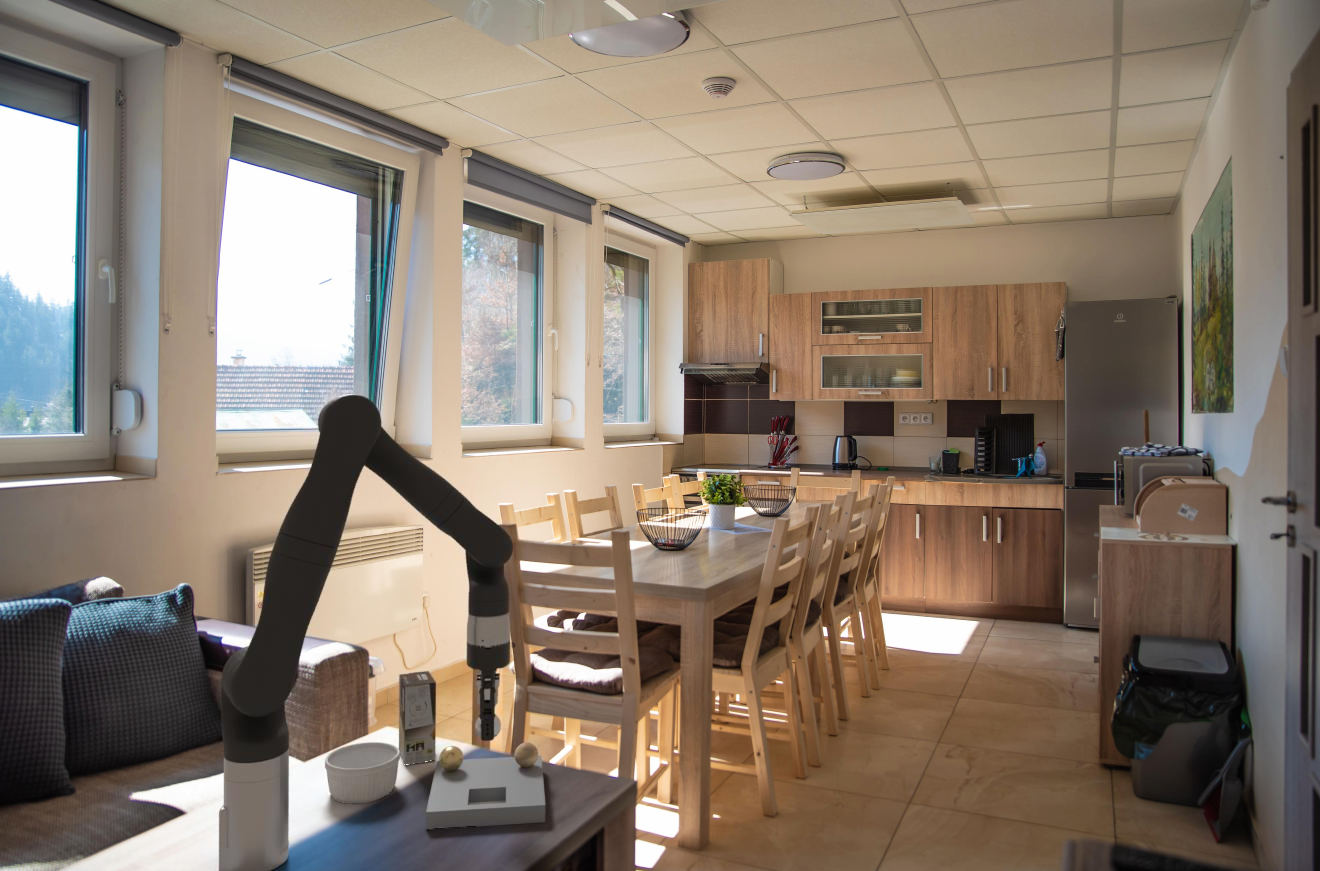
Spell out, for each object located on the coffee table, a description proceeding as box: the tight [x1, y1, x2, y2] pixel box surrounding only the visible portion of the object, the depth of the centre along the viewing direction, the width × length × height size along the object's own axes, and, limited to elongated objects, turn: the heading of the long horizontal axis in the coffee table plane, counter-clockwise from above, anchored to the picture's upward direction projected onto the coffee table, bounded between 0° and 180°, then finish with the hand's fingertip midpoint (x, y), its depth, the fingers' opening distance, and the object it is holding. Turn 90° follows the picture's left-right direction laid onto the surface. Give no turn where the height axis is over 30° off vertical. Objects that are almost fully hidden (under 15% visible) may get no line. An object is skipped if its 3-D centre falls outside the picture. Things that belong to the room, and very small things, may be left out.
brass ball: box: [438, 745, 465, 771], centre depth 164 cm, size 4×4×4 cm
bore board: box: [425, 755, 546, 829], centre depth 159 cm, size 20×22×3 cm
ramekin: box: [324, 741, 401, 804], centre depth 161 cm, size 13×13×7 cm
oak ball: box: [514, 741, 539, 767], centre depth 166 cm, size 4×4×4 cm
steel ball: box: [474, 714, 502, 738], centre depth 153 cm, size 4×4×4 cm
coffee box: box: [398, 670, 437, 766], centre depth 178 cm, size 9×6×16 cm
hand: (487, 734), depth 153 cm, fingers closed on steel ball, 4 cm apart
